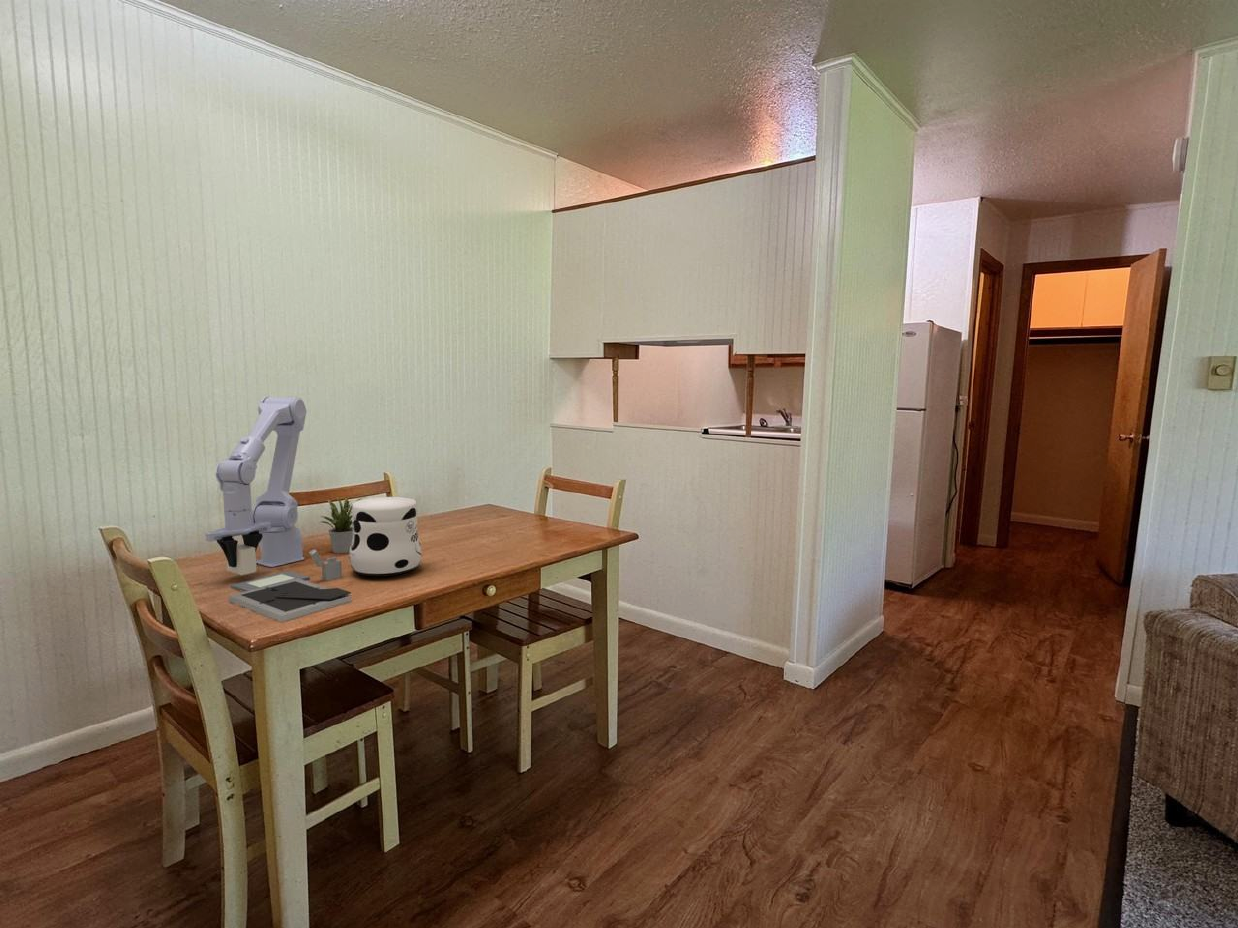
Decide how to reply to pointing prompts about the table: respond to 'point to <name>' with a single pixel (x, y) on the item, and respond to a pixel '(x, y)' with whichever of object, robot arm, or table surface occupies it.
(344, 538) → the house plant
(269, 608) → the picture frame
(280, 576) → the mat
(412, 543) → the milk container
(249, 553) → the beige rectangular block
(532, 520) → the table surface
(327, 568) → the lighter
